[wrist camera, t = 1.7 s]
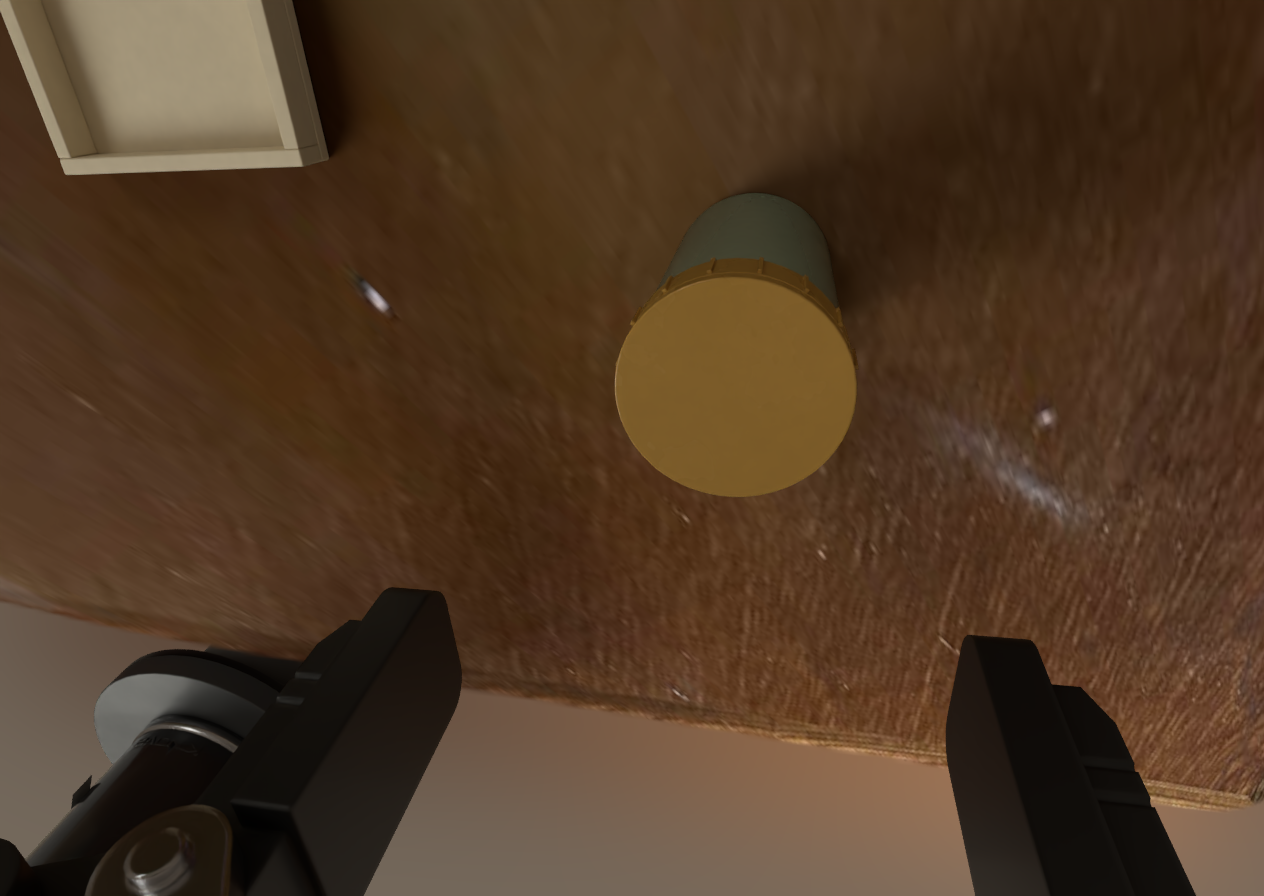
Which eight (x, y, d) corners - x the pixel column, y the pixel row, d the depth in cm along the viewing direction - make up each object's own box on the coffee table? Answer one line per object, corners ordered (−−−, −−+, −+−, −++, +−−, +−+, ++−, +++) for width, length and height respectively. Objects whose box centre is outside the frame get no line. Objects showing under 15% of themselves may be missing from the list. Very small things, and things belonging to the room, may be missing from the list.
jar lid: (844, 470, 20) (848, 504, 19) (632, 461, 21) (620, 493, 20) (863, 254, 18) (870, 274, 16) (618, 257, 19) (604, 275, 17)
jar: (825, 344, 28) (841, 488, 19) (678, 342, 29) (629, 479, 20) (836, 190, 26) (861, 275, 17) (674, 194, 27) (615, 276, 18)
